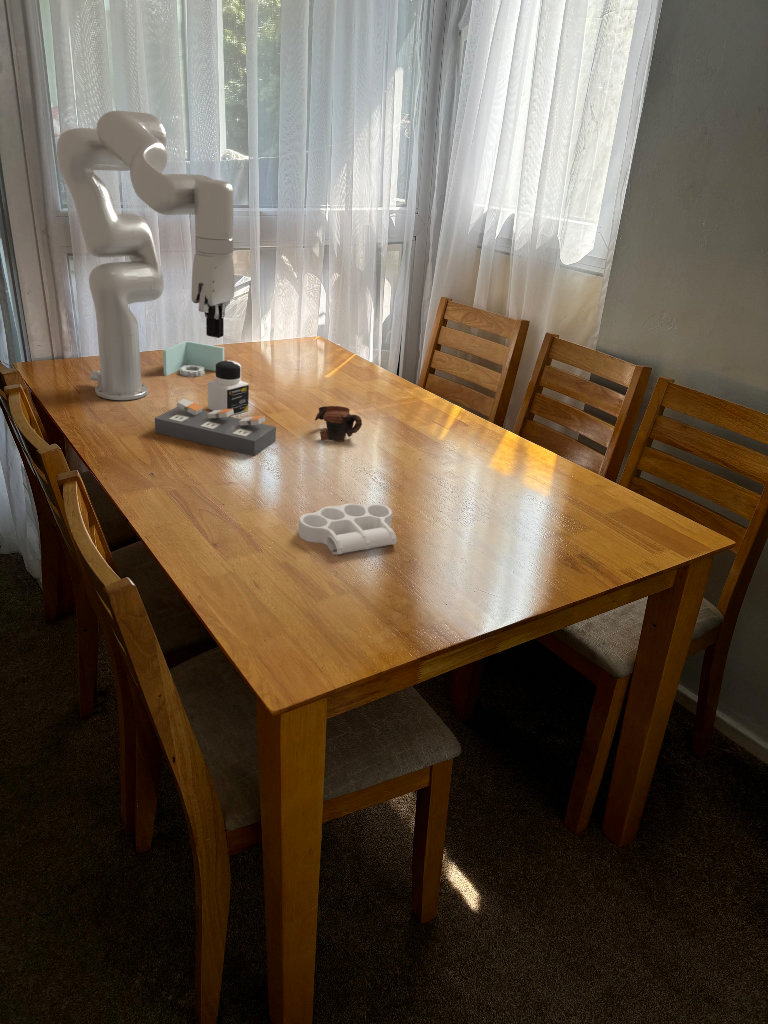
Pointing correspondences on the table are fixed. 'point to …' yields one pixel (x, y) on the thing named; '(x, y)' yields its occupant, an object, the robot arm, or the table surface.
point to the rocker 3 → (252, 420)
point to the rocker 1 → (189, 406)
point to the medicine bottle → (228, 388)
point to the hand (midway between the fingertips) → (215, 335)
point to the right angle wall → (191, 358)
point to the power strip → (216, 431)
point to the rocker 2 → (220, 413)
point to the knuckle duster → (349, 527)
